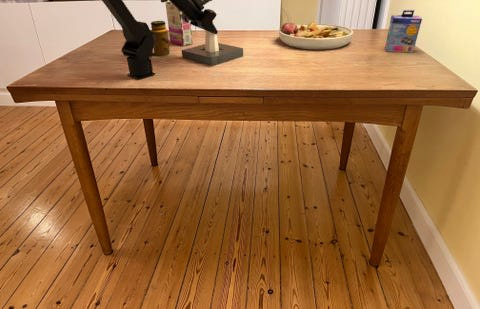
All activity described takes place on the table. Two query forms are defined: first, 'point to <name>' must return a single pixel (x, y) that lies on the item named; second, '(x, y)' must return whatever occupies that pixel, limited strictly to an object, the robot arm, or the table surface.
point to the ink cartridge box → (403, 32)
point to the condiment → (160, 39)
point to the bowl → (315, 36)
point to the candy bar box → (178, 26)
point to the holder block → (212, 54)
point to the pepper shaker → (211, 41)
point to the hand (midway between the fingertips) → (214, 32)
